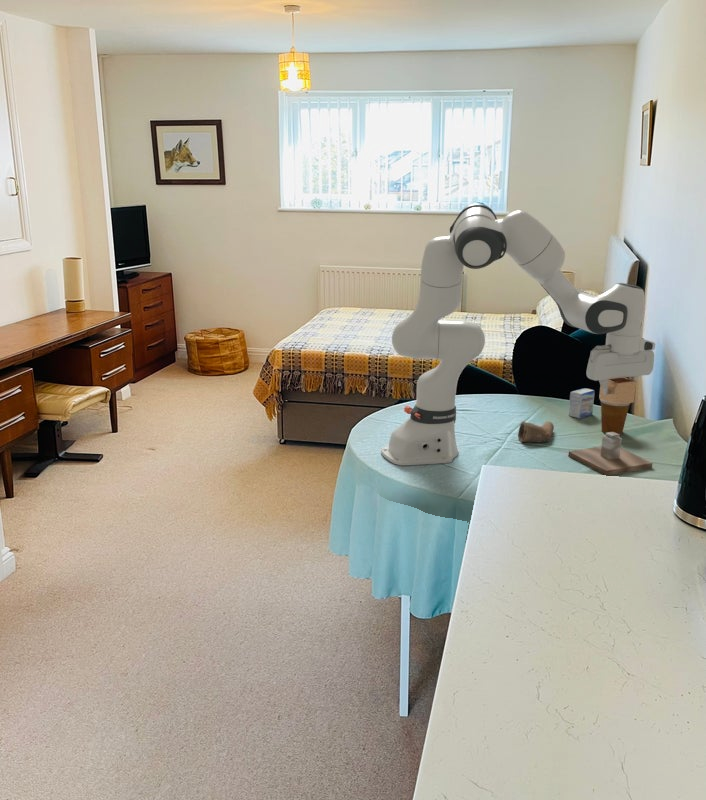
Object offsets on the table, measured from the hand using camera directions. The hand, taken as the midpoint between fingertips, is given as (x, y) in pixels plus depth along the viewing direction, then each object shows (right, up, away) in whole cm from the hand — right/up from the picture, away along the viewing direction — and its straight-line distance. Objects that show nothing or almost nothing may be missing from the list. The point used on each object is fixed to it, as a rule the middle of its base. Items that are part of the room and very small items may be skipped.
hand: (617, 392), depth 204 cm
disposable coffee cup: (+10, -12, +32) cm, 35 cm away
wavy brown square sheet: (0, -20, +6) cm, 21 cm away
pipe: (-16, -14, +27) cm, 34 cm away
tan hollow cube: (0, -2, +1) cm, 2 cm away
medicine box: (+5, -7, +48) cm, 49 cm away
